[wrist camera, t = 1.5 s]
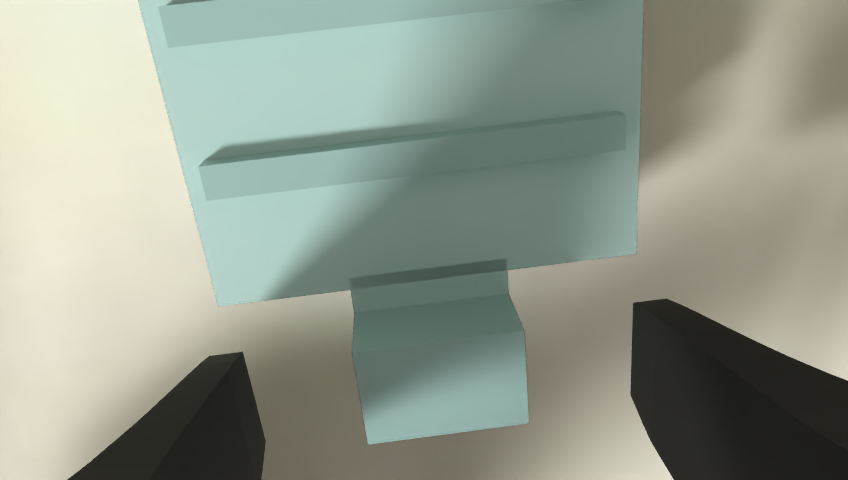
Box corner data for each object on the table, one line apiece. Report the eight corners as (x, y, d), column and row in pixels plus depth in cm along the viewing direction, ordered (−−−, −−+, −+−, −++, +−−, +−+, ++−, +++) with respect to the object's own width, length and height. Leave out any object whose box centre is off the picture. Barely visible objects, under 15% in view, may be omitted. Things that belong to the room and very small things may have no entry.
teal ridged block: (575, 277, 17) (661, 405, 12) (275, 315, 17) (232, 462, 12) (567, -311, 12) (709, -520, 7) (145, -268, 12) (-27, -452, 7)
